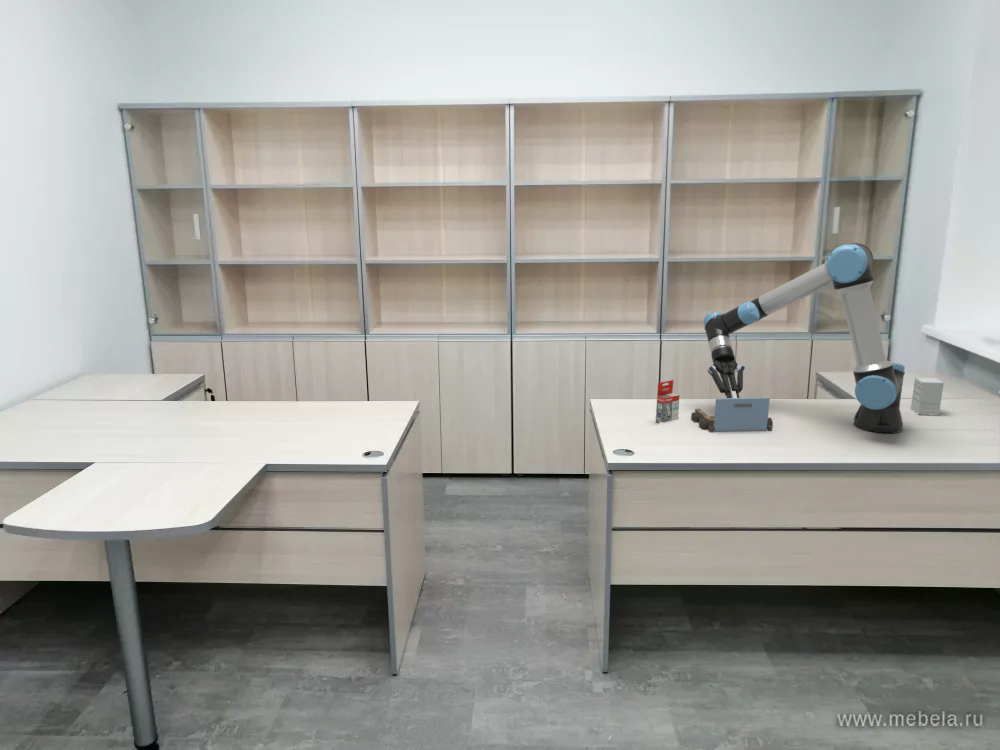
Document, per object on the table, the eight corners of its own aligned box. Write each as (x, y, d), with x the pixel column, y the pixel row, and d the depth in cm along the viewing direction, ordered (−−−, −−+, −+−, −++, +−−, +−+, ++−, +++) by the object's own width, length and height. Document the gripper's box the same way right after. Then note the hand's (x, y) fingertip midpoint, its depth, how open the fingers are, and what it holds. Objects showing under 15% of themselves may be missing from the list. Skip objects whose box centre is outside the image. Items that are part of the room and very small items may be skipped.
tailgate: (713, 432, 240) (715, 398, 237) (765, 431, 242) (768, 397, 239) (714, 433, 239) (717, 399, 236) (766, 432, 240) (769, 398, 237)
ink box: (678, 421, 254) (681, 381, 250) (662, 425, 249) (665, 384, 246) (670, 418, 257) (673, 379, 253) (655, 422, 252) (657, 382, 249)
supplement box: (931, 410, 267) (936, 377, 264) (939, 416, 260) (944, 382, 257) (909, 409, 268) (914, 376, 265) (917, 415, 261) (922, 381, 258)
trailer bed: (689, 420, 254) (690, 408, 253) (756, 419, 256) (757, 407, 255) (705, 435, 239) (706, 422, 238) (776, 433, 240) (777, 420, 239)
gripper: (735, 356, 259) (750, 414, 246) (700, 357, 258) (714, 415, 246) (743, 345, 252) (758, 403, 240) (707, 346, 251) (720, 404, 239)
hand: (736, 409), depth 243 cm, fingers closed
